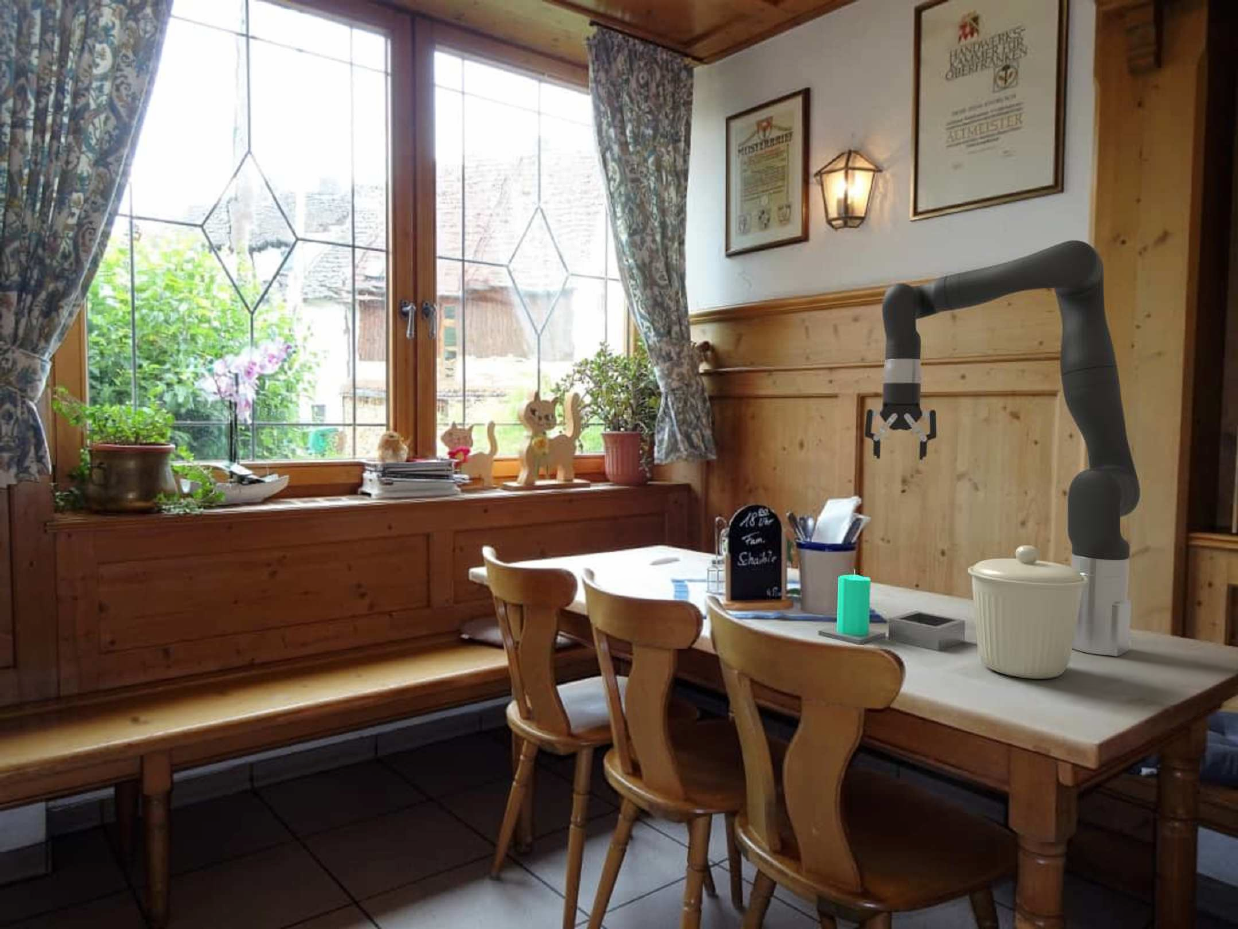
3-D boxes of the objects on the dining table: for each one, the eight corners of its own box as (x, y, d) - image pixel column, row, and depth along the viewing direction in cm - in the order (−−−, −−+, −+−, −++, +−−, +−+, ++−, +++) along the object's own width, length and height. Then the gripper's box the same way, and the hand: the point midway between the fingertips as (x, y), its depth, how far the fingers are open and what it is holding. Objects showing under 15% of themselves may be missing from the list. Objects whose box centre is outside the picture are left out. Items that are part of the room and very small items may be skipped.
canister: (1078, 695, 132) (1084, 558, 131) (954, 674, 142) (959, 547, 141) (1087, 666, 148) (1093, 544, 146) (974, 649, 157) (979, 534, 156)
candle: (855, 637, 162) (856, 573, 161) (830, 630, 167) (831, 568, 166) (875, 632, 165) (877, 570, 164) (850, 626, 170) (852, 565, 169)
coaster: (885, 636, 166) (885, 632, 166) (859, 644, 160) (859, 640, 160) (845, 627, 172) (845, 623, 172) (818, 634, 166) (818, 630, 166)
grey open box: (964, 641, 163) (965, 620, 162) (937, 650, 156) (938, 629, 156) (915, 630, 170) (916, 610, 170) (888, 639, 163) (888, 618, 163)
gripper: (937, 382, 182) (934, 459, 183) (867, 382, 186) (864, 457, 187) (938, 381, 175) (936, 461, 176) (865, 380, 179) (863, 459, 180)
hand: (899, 459), depth 181 cm, fingers open, 8 cm apart
